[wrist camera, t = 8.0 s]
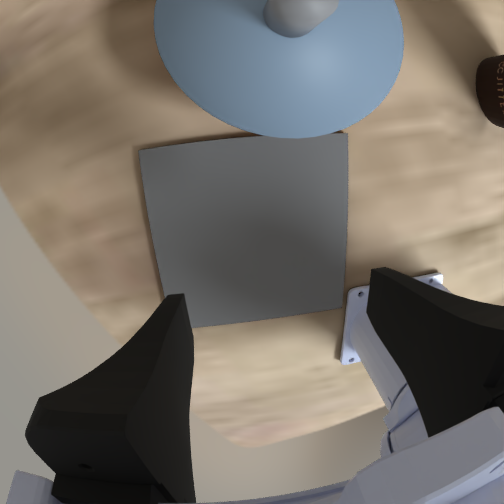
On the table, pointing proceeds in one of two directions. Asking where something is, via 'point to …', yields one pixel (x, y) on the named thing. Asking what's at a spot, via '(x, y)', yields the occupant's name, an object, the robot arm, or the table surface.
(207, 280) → the mat
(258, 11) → the lid
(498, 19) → the table surface
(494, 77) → the coffee mug
